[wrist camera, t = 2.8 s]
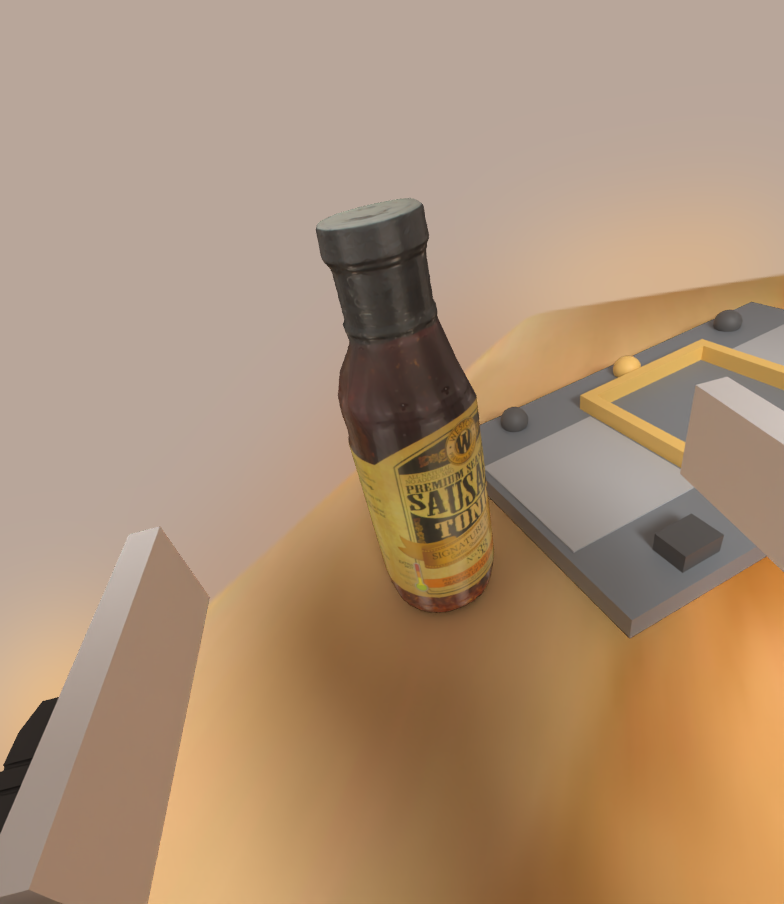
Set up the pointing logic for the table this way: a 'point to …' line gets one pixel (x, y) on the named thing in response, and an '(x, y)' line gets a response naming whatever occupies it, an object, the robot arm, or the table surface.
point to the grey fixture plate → (633, 469)
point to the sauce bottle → (409, 408)
